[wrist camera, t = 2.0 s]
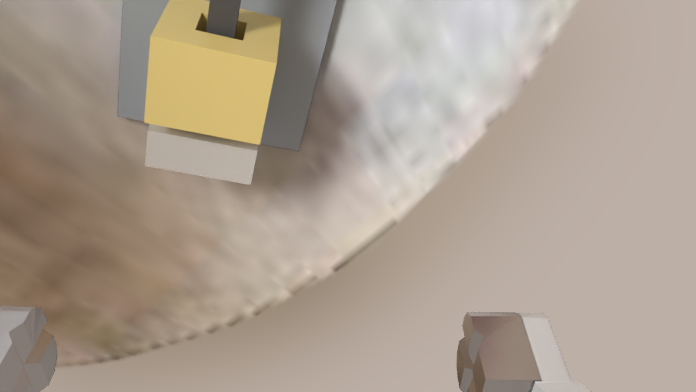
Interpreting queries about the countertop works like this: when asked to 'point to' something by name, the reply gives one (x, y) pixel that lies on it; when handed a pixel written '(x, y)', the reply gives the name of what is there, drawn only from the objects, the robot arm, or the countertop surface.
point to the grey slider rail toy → (285, 99)
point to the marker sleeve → (211, 72)
